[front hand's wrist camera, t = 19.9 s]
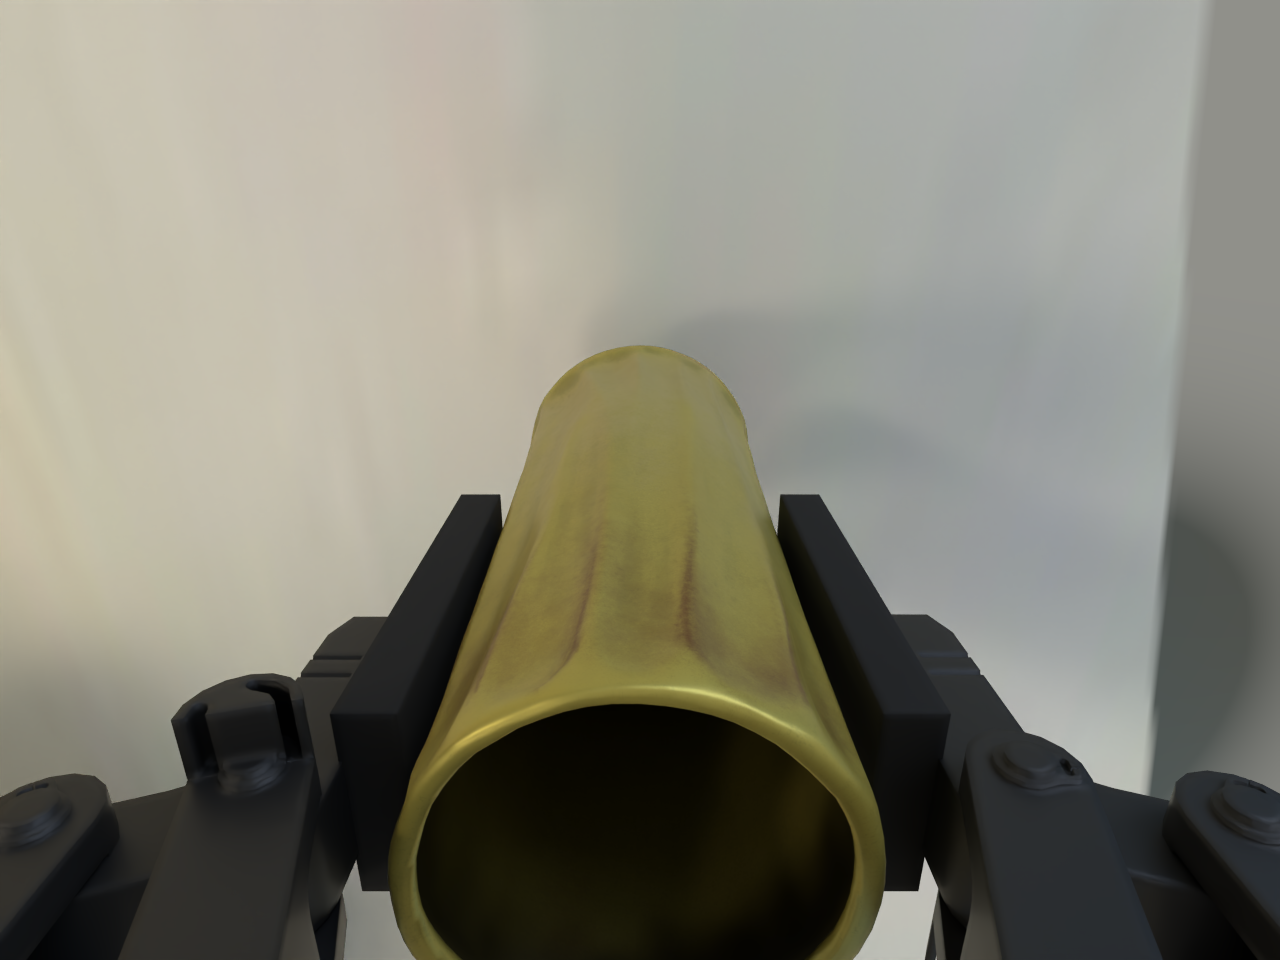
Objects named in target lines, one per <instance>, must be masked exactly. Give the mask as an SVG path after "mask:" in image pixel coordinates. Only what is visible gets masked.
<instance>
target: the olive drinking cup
mask: <svg viewBox="0 0 1280 960" xmlns="http://www.w3.org/2000/svg"><path fill="white" fill-rule="evenodd" d="M885 875H886V855H885V844H884V835H883V830H882V825H881V820H880V815H879V810H878V806H877V803H876V800H875V797H874V794H873V791H872V788H871V786H870V784H869V781H868V779H867V776H866V774H865V771H864V769H863V766H862V764H861V761H860V759H859V756H858V754H857V751H856V749H855V746H854V743H853V741H852V738H851V736H850V733H849V731H848V728H847V725H846V723H845V720H844V717H843V715H842V712H841V709H840V707H839V704H838V701H837V699H836V696H835V693H834V691H833V688H832V686H831V683H830V681H829V678H828V676H827V673H826V670H825V668H824V665H823V662H822V660H821V657H820V654H819V652H818V649H817V646H816V644H815V641H814V638H813V636H812V633H811V631H810V628H809V626H808V623H807V621H806V618H805V615H804V612H803V610H802V607H801V604H800V601H799V598H798V595H797V592H796V590H795V587H794V584H793V581H792V578H791V575H790V572H789V569H788V566H787V563H786V560H785V557H784V554H783V551H782V548H781V545H780V542H779V540H778V537H777V534H776V531H775V529H774V526H773V523H772V520H771V517H770V514H769V511H768V507H767V504H766V501H765V498H764V495H763V492H762V489H761V486H760V484H759V481H758V478H757V475H756V471H755V467H754V463H753V459H752V455H751V451H750V448H749V445H748V438H747V429H746V425H745V420H744V417H743V415H742V412H741V410H740V408H739V406H738V404H737V402H736V400H735V399H734V397H733V396H732V394H731V393H730V391H729V390H728V389H727V387H726V386H725V385H724V383H723V382H722V381H721V380H720V379H719V378H718V377H717V376H716V375H715V374H714V373H713V372H711V371H710V370H709V369H708V368H707V367H705V366H704V365H702V364H701V363H699V362H697V361H696V360H694V359H692V358H690V357H688V356H686V355H683V354H681V353H678V352H675V351H672V350H669V349H665V348H661V347H654V346H627V347H620V348H615V349H611V350H607V351H604V352H601V353H598V354H596V355H593V356H591V357H589V358H587V359H585V360H584V361H582V362H580V363H579V364H577V365H576V366H574V367H573V368H572V369H570V370H569V371H568V372H566V373H565V374H564V375H563V376H562V377H561V378H560V379H559V380H558V381H557V383H556V384H555V385H554V386H553V387H552V389H551V390H550V391H549V392H548V394H547V395H546V396H545V398H544V400H543V402H542V404H541V406H540V408H539V411H538V414H537V417H536V421H535V425H534V429H533V434H532V440H531V446H530V449H529V452H528V456H527V459H526V463H525V466H524V470H523V472H522V475H521V478H520V480H519V483H518V486H517V489H516V491H515V494H514V497H513V500H512V503H511V506H510V509H509V512H508V515H507V518H506V521H505V524H504V526H503V529H502V532H501V535H500V537H499V540H498V542H497V545H496V548H495V551H494V554H493V557H492V560H491V563H490V566H489V569H488V572H487V574H486V577H485V580H484V582H483V585H482V588H481V591H480V593H479V596H478V599H477V602H476V605H475V608H474V610H473V613H472V616H471V619H470V621H469V624H468V626H467V629H466V632H465V634H464V637H463V640H462V643H461V645H460V648H459V651H458V654H457V657H456V660H455V663H454V666H453V669H452V672H451V675H450V678H449V681H448V684H447V688H446V691H445V694H444V697H443V700H442V702H441V705H440V708H439V710H438V713H437V715H436V718H435V720H434V723H433V725H432V727H431V730H430V733H429V735H428V738H427V740H426V743H425V745H424V747H423V749H422V751H421V753H420V755H419V757H418V759H417V761H416V763H415V766H414V768H413V771H412V773H411V777H410V781H409V786H408V790H407V794H406V798H405V802H404V805H403V807H402V810H401V812H400V815H399V818H398V820H397V823H396V825H395V829H394V832H393V836H392V839H391V843H390V849H389V856H388V885H389V890H390V896H391V901H392V906H393V910H394V914H395V918H396V922H397V926H398V928H399V930H400V933H401V935H402V938H403V940H404V942H405V944H406V945H407V947H408V949H409V950H410V952H411V954H412V955H413V956H414V957H415V959H416V960H853V959H854V957H855V956H856V955H857V954H858V953H859V951H860V950H861V948H862V946H863V944H864V943H865V941H866V939H867V938H868V936H869V934H870V932H871V931H872V928H873V926H874V923H875V920H876V917H877V914H878V911H879V909H880V906H881V903H882V897H883V892H884V887H885Z"/></svg>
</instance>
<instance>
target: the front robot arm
mask: <svg viewBox="0 0 1280 960" xmlns="http://www.w3.org/2000/svg"><path fill="white" fill-rule="evenodd" d="M502 529H503V527H502V513H501V500H500V495H461V496H460V498H459V500H458V501H457V503H456V505H455V506H454V508H453V510H452V511H451V513H450V515H449V516H448V518H447V520H446V521H445V523H444V525H443V526H442V528H441V530H440V531H439V533H438V534H437V536H436V538H435V539H434V541H433V543H432V544H431V546H430V548H429V549H428V551H427V553H426V554H425V556H424V558H423V559H422V561H421V563H420V564H419V566H418V568H417V569H416V571H415V573H414V574H413V576H412V578H411V579H410V581H409V583H408V584H407V586H406V588H405V589H404V591H403V593H402V594H401V596H400V598H399V599H398V601H397V603H396V604H395V606H394V608H393V609H392V611H391V613H390V614H389V616H388V617H353V618H352V619H350V620H349V621H347V622H346V623H344V624H343V625H342V626H340V627H339V628H337V629H336V630H334V631H333V632H332V633H330V634H329V635H328V636H327V637H326V639H325V640H324V641H323V643H322V644H321V646H320V647H319V648H318V650H317V651H316V653H315V654H314V655H313V660H310V661H309V662H308V664H307V665H306V667H305V668H304V669H303V671H302V672H301V677H298V678H297V679H296V681H294V680H293V679H292V678H291V677H287V676H282V675H278V674H273V673H271V674H250V675H246V676H242V677H238V678H234V679H230V680H226V681H224V682H221V683H219V684H217V685H215V686H212V687H210V688H208V689H206V690H204V691H202V692H200V693H199V694H197V695H196V696H195V697H193V698H192V699H190V700H189V701H188V702H186V703H185V704H183V705H182V707H181V708H180V709H179V710H178V712H177V713H176V714H175V716H174V717H173V718H172V719H171V723H172V726H173V730H174V733H175V737H176V740H177V744H178V748H179V751H180V755H181V758H182V762H183V765H184V769H185V773H186V776H187V780H188V781H187V784H186V786H184V787H180V788H177V789H173V790H170V791H166V792H161V793H157V794H153V795H148V796H144V797H139V798H135V799H130V800H126V801H122V802H117V803H113V804H112V802H111V799H110V796H109V793H108V790H107V787H106V785H105V784H104V783H103V782H101V781H100V780H99V779H97V778H96V777H95V776H90V775H82V774H68V775H61V776H55V777H48V778H45V779H43V780H40V781H36V782H34V783H30V784H27V785H25V786H22V787H19V788H18V789H16V790H14V791H12V792H10V793H8V794H6V795H4V796H3V797H1V798H0V960H343V958H344V947H345V937H346V926H347V917H346V910H345V904H344V899H343V894H342V891H343V889H344V887H345V884H346V882H347V880H348V877H349V875H350V873H351V870H352V868H353V866H354V863H355V861H356V860H357V865H358V871H359V876H360V881H361V887H362V891H390V890H389V885H388V856H389V849H390V843H391V839H392V836H393V832H394V829H395V825H396V823H397V820H398V818H399V815H400V812H401V810H402V807H403V805H404V802H405V798H406V794H407V790H408V786H409V781H410V777H411V773H412V771H413V768H414V766H415V763H416V761H417V759H418V757H419V755H420V753H421V751H422V749H423V747H424V745H425V743H426V740H427V738H428V735H429V733H430V730H431V727H432V725H433V723H434V720H435V718H436V715H437V713H438V710H439V708H440V705H441V702H442V700H443V697H444V694H445V691H446V688H447V684H448V681H449V678H450V675H451V672H452V669H453V666H454V663H455V660H456V657H457V654H458V651H459V648H460V645H461V643H462V640H463V637H464V634H465V632H466V629H467V626H468V624H469V621H470V619H471V616H472V613H473V610H474V608H475V605H476V602H477V599H478V596H479V593H480V591H481V588H482V585H483V582H484V580H485V577H486V574H487V572H488V569H489V566H490V563H491V560H492V557H493V554H494V551H495V548H496V545H497V542H498V540H499V537H500V535H501V532H502ZM777 537H778V540H779V542H780V545H781V548H782V551H783V554H784V557H785V560H786V563H787V566H788V569H789V572H790V575H791V578H792V581H793V584H794V587H795V590H796V592H797V595H798V598H799V601H800V604H801V607H802V610H803V612H804V615H805V618H806V621H807V623H808V626H809V628H810V631H811V633H812V636H813V638H814V641H815V644H816V646H817V649H818V652H819V654H820V657H821V660H822V662H823V665H824V668H825V670H826V673H827V676H828V678H829V681H830V683H831V686H832V688H833V691H834V693H835V696H836V699H837V701H838V704H839V707H840V709H841V712H842V715H843V717H844V720H845V723H846V725H847V728H848V731H849V733H850V736H851V738H852V741H853V743H854V746H855V749H856V751H857V754H858V756H859V759H860V761H861V764H862V766H863V769H864V771H865V774H866V776H867V779H868V781H869V784H870V786H871V788H872V791H873V794H874V797H875V800H876V803H877V806H878V810H879V815H880V820H881V825H882V830H883V835H884V844H885V855H886V875H885V887H884V891H918V890H919V884H920V879H921V874H922V868H923V863H924V857H925V858H926V861H927V863H928V865H929V868H930V870H931V872H932V875H933V877H934V879H935V882H936V884H937V886H938V894H937V899H936V904H935V909H934V914H933V919H932V924H931V929H930V934H929V939H928V944H927V950H926V956H925V960H935V959H936V956H937V960H1280V794H1279V793H1277V792H1276V791H1274V790H1272V789H1270V788H1268V787H1266V786H1264V785H1262V784H1260V783H1257V782H1254V781H1252V780H1248V779H1246V778H1242V777H1239V776H1236V775H1233V774H1227V773H1220V772H1213V771H1200V772H1193V773H1187V774H1186V775H1184V776H1183V777H1182V778H1180V779H1179V780H1178V781H1177V782H1176V783H1175V786H1174V789H1173V792H1172V795H1171V798H1170V801H1168V800H1164V799H1159V798H1155V797H1150V796H1146V795H1141V794H1137V793H1132V792H1128V791H1124V790H1119V789H1115V788H1111V787H1107V786H1104V785H1101V784H1097V783H1094V782H1093V780H1092V778H1091V777H1090V775H1089V774H1088V772H1087V771H1086V769H1085V768H1084V766H1083V765H1082V763H1081V762H1079V761H1078V760H1077V759H1076V758H1074V757H1073V756H1072V755H1071V754H1070V753H1068V752H1067V751H1066V750H1065V749H1063V748H1062V747H1060V746H1058V745H1056V744H1054V743H1052V742H1050V741H1048V740H1046V739H1044V738H1042V737H1039V736H1035V735H1032V734H1028V733H1025V732H1024V731H1023V730H1022V728H1021V727H1020V725H1019V724H1018V723H1017V721H1016V720H1015V718H1014V717H1013V716H1012V714H1011V713H1010V711H1009V710H1008V709H1007V707H1006V706H1005V704H1004V703H1003V702H1002V700H1001V699H1000V698H999V696H998V695H997V693H996V692H995V691H994V689H993V688H992V686H991V685H990V684H989V682H988V681H987V679H986V678H985V677H984V675H980V670H979V668H978V667H977V666H976V664H975V663H974V661H973V660H972V659H971V657H968V653H967V652H966V650H965V649H964V647H963V646H962V645H961V643H960V642H959V641H958V639H957V638H956V636H955V635H954V634H953V632H951V631H950V630H948V629H947V628H946V627H944V626H943V625H941V624H940V623H938V622H937V621H935V620H934V619H933V618H931V617H930V616H928V615H891V613H890V612H889V610H888V608H887V607H886V605H885V603H884V602H883V600H882V598H881V597H880V595H879V593H878V592H877V590H876V588H875V587H874V585H873V583H872V582H871V580H870V578H869V577H868V575H867V573H866V572H865V570H864V568H863V567H862V565H861V563H860V562H859V560H858V558H857V557H856V555H855V554H854V552H853V550H852V549H851V547H850V545H849V544H848V542H847V540H846V539H845V537H844V535H843V534H842V532H841V530H840V529H839V527H838V525H837V524H836V522H835V520H834V519H833V517H832V515H831V514H830V512H829V510H828V509H827V507H826V505H825V504H824V502H823V500H822V499H821V497H820V495H780V507H779V520H778V534H777Z"/></svg>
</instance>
